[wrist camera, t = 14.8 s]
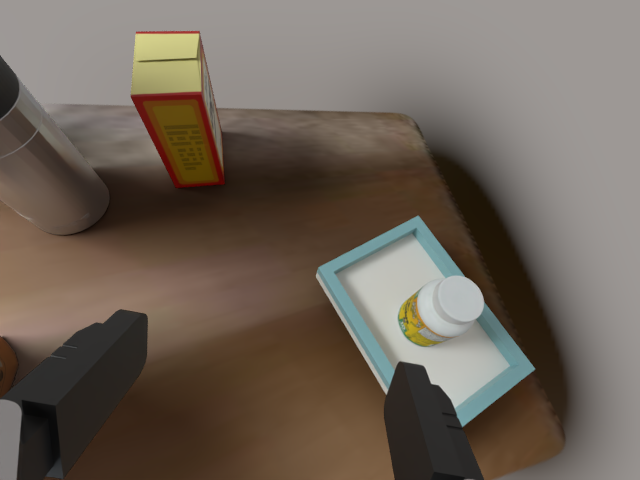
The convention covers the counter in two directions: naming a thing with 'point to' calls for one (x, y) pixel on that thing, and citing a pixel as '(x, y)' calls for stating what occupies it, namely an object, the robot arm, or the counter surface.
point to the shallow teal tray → (383, 331)
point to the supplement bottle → (440, 311)
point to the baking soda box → (178, 106)
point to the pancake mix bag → (7, 366)
